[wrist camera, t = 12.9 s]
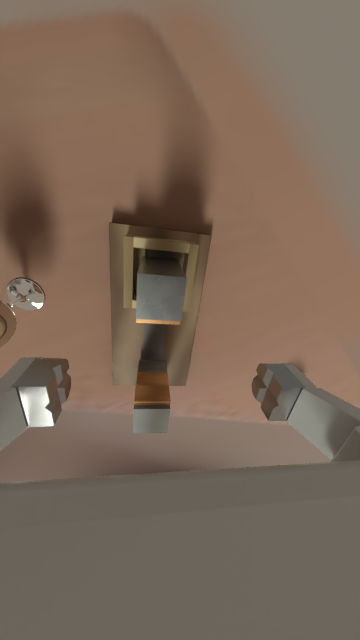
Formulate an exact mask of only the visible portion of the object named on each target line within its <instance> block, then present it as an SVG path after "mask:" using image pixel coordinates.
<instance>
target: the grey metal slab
mask: <svg viewBox="0 0 360 640" xmlns="http://www.w3.org/2000/svg"><path fill="white" fill-rule="evenodd" d="M186 283H187V276H186V275H185V273H184V271H183V270H182V268H181V266H180V264H179V263H178V261H177V259H173V258H163V257H153V256H142V259H141V262H140V266H139V269H138V272H137V299H136V323H153V324H172V325H180V321H182V313H183V306H184V298H185V290H186Z"/></svg>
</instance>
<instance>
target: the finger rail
mask: <svg viewBox="0 0 360 640" xmlns="http://www.w3.org/2000/svg"><path fill="white" fill-rule="evenodd" d="M210 241H211V235H207V234H199V233H191V232H183V231H175V230H167V229H159V228H152V227H144V226H136V225H128V224H120V223H112V222H110V223H109V244H110V284H111V324H112V364H113V385H136V391H135V400H134V419H133V420H134V421H133V433H135V434H136V433H166V432H167V428H168V421H169V414H170V392H169V386H186V381H187V375H188V369H189V363H190V357H191V352H192V346H193V340H194V334H195V328H196V322H197V317H198V311H199V305H200V299H201V293H202V287H203V282H204V276H205V270H206V264H207V258H208V252H209V246H210ZM142 256H153V257H163V258H173V259H177V261H178V263H179V264H180V266H181V268H182V270H183V271H184V273H185V275H186V276H187V283H186V290H185V298H184V306H183V313H182V321H180V325H172V324H153V323H136V299H137V272H138V269H139V266H140V262H141V259H142Z"/></svg>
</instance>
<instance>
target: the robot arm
mask: <svg viewBox="0 0 360 640" xmlns="http://www.w3.org/2000/svg"><path fill="white" fill-rule="evenodd" d="M68 369H69V364H68V360H67V359H61V358H37V357H23V358H21V359H19V360H18V361H17V363H16V364H15V365H14V366H13V367H12V368H11V369H10V370H9V371H8V372H7V373H6V374H5V375H4V376H3V377H2V378H1V379H0V451H1V450H2V449H4V448H5V447H6V446H7V445H8V444H10V443H11V442H12V441H13V440H14V439H16V438H17V437H18V436H19V435H20V434H22V433H23V432H24V431H25V430H26V429H27V427H40V426H54V425H55V423H56V421H57V419H58V416H59V415H60V412H61V411H62V409H61V404H62V403H64V402H65V401H66V400H67V398H68V396H69V392H70V388H71V377H70V375H68V374H67V373H66V372H67V370H68ZM256 371H257V374H258V375H257V376H256V377H254V378H253V382H252V392H253V395H254V397H255V399H256V400H257V401H259V402H260V403H261V409H262V411H263V413H264V414H265V416H266V418H267V419H268V421H287V422H288V423H289V424H290V425H291V426H292V427H294V428H295V429H296V430H297V431H298V432H300V433H301V434H302V435H303V436H304V437H305V438H306V439H308V440H309V441H310V442H311V443H312V444H313V445H315V446H316V447H317V448H318V449H319V450H320V451H322V452H323V453H324V454H325V455H326V456H327V457H329V458H330V459H331V460H332V461H331V462H326V463H325V462H324V463H309V464H294V465H277V466H261V467H246V468H230V469H214V470H199V471H183V472H166V473H149V474H134V475H117V476H101V477H86V478H85V477H84V478H68V479H53V480H36V481H21V482H4V483H0V640H360V409H359V408H357V407H355V406H353V405H351V404H350V403H348V402H346V401H344V400H342V399H340V398H338V397H336V396H334V395H332V394H331V393H329V392H327V391H325V390H323V389H321V388H317V387H316V386H315V385H314V384H313V383H312V382H311V381H310V380H309V379H308V378H307V377H306V376H305V375H304V374H303V373H302V372H301V371H300V370H299V369H298V368H297V367H296V366H295V365H293V364H291V363H281V364H262V363H260V364H259V365H258V367H257V370H256Z"/></svg>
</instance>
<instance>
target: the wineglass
mask: <svg viewBox="0 0 360 640" xmlns="http://www.w3.org/2000/svg"><path fill="white" fill-rule="evenodd" d="M7 295H8V298H9V299H10V301H11V302H8V303H5V302H3V301H2V300H0V348H1V347H2V346H3V345H5V344H6V343H7V342H8V341H9V340H10V339H11V337H12V336H13V334H14V333H15V330H16V324H17V322H16V317H15V314H14V312H13V311H12V309H11V307H12V306H13V305H15V306H17V307H18V308H20V309H23V310H27V311H33V310H37V309H39V308H41V307H42V306H43V304H44V301H45V295H44V292H43V291H42V289H41V288H40V287H39V286H38V285H37V284H36V283H35V282H33V281H31V280H28V279H24V278H18V279H15V280H12V281H11V282H10V283H9V284H8V286H7Z"/></svg>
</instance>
